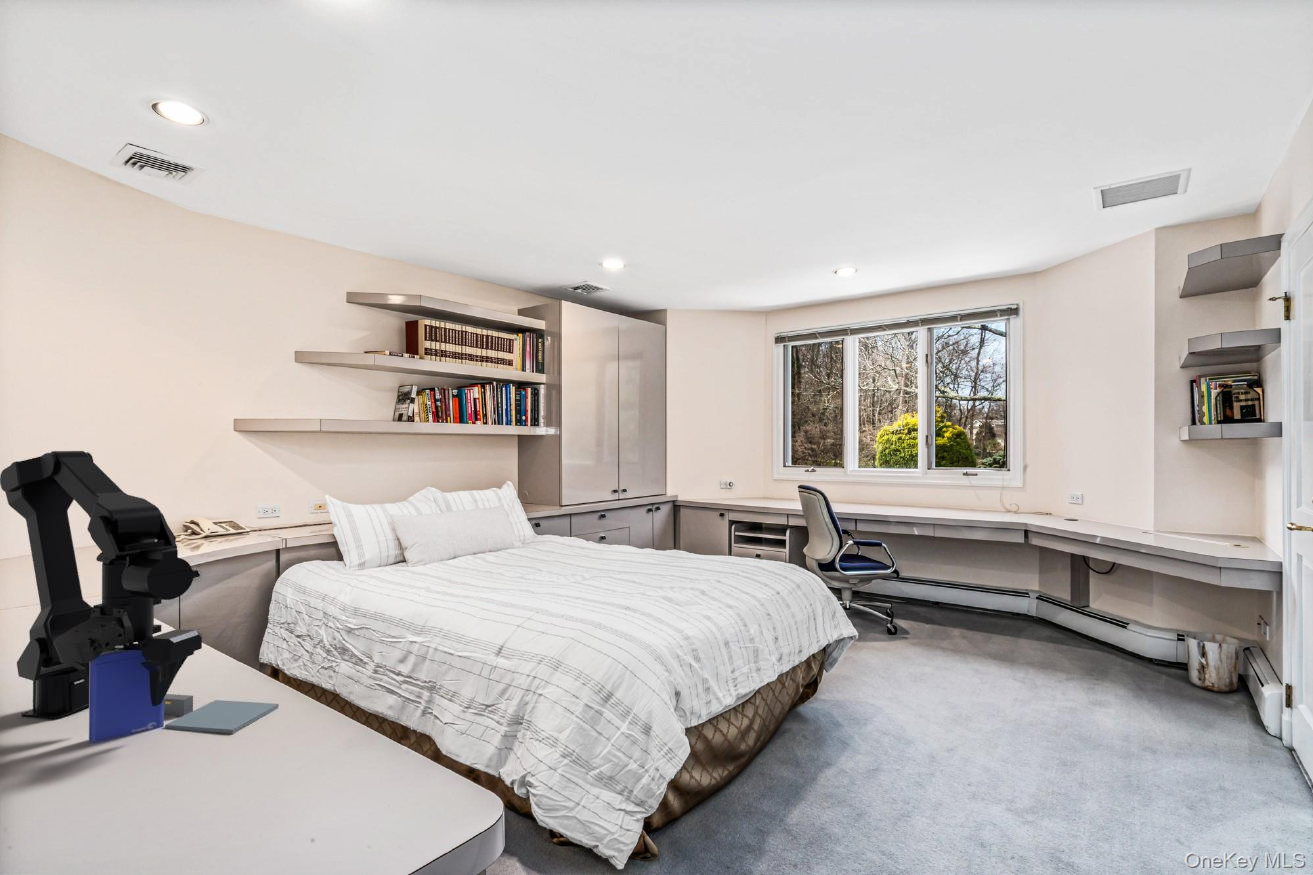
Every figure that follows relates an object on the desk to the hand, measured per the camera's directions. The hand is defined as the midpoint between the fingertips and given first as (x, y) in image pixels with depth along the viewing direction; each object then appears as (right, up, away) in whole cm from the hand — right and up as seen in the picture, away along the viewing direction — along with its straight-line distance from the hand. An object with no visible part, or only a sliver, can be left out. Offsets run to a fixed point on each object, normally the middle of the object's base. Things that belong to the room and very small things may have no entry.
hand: (127, 704), depth 90 cm
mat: (+10, -5, +6) cm, 12 cm away
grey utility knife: (-3, -5, +8) cm, 10 cm away
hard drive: (0, -5, 0) cm, 5 cm away
